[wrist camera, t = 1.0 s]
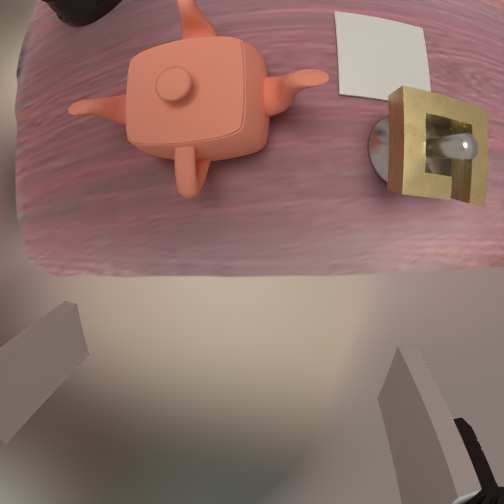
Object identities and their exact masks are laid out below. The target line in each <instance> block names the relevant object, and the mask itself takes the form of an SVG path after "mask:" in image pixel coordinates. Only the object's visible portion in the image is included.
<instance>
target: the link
mask: <svg viewBox="0 0 504 504" xmlns="http://www.w3.org/2000/svg"><path fill="white" fill-rule="evenodd" d="M388 107H389V157H388V181H387V190H389V191H393V192H396V193H399V194H404V195H413V196H421V197H429V198H436V199H443V200H451V198H452V199H456V200H459V201H463V202H466V203H470V204H476V205H482V206H485V202H486V190H487V175H488V122H487V109H486V108H483V107H480V106H477V105H474V104H471V103H468V102H465V101H462V100H459V99H455V98H452V97H449V96H445V95H441V94H438V93H434V92H430V91H426V90H422V89H417V88H413V87H408V86H403V85H402V86H401V87H400V88H398V89H397V90H395V91H394V92H392V93H391V94H390V95H388ZM426 123H431V124H436V125H440V126H444V127H448V128H451V135H454V134H462V133H469V134H471V135H473V136H474V138H475V139H476V141H477V144H478V153H477V156H476V157H475V158H474V159H451V174H450V176H444V175H438V174H432V173H426V172H425V159H426Z"/></svg>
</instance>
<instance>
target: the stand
mask: <svg viewBox="0 0 504 504" xmlns="http://www.w3.org/2000/svg"><path fill="white" fill-rule="evenodd" d="M477 153H478V144H477V141H476V139H475V138H474V136H473V135H471V134H469V133H462V134H454V135H451V129H450V128H448V127H444V126H440V125H436V124H431V123H426V159H425V172H426V173H432V174H438V175H444V176H450V174H451V159H474V158H475V157H476V156H477ZM368 155H369V159H370V162H371V165H372V167H373V168H374V170H375V172H376V173H377V174H378V175H379V177H380V178H381V179H383V180H384V181H385V182H387V181H388V157H389V116H387V117H385V118H383V119H381V120H380V121H379V122H378V123H377V124H376V125H375V126H374V127H373V129H372V131H371V133H370V136H369V140H368Z"/></svg>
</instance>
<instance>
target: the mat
mask: <svg viewBox="0 0 504 504" xmlns="http://www.w3.org/2000/svg"><path fill="white" fill-rule="evenodd" d="M334 18H335V30H336V43H337V60H338V85H339V95H344V96H353V97H361V98H369V99H376V100H382V101H388V95H390V94H391V93H392V92H394V91H395V90H397V89H398V88H400V87H401V86H402V85H403V86H408V87H413V88H417V89H422V90H426V91H430V92H431V89H430V78H429V68H428V60H427V53H426V46H425V40H424V34H423V28H420V27H416V26H412V25H408V24H404V23H400V22H396V21H392V20H387V19H382V18H377V17H371V16H366V15H359V14H353V13H345V12H336V11H335V12H334Z"/></svg>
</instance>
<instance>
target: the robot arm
mask: <svg viewBox="0 0 504 504" xmlns="http://www.w3.org/2000/svg"><path fill="white" fill-rule="evenodd" d="M42 1H44V2H46V3H48V5H49V6H50V7H51V8H52V10H53V11H54V12H56V13H57V16H58V18H59V19H60V20H61V21H63V22H65V23H67V24H69V25H71V26H83V25H86V24H89V23H91V22H93V21H95V20H97V19H99V18H100V17H102V16H103V15H105V14H106V13H107V12H109V11H110V10H111V9H112V8H114V7H115V6H116V5H117V4H118V3H119V2H120V1H121V0H42ZM88 355H89V353H88V349H87V345H86V342H85V338H84V334H83V330H82V326H81V321H80V317H79V312H78V307H77V304H74V303H70V302H66V301H65V302H63V303H62V304H60V305H59V306H57V307H56V308H54V309H53V310H52V311H50V312H49V313H47V314H46V315H44V316H43V317H42V318H40V319H39V320H37V321H36V322H35V323H34V324H32V325H31V326H29V327H28V328H26V329H25V330H24V331H22V332H21V333H20V334H18V335H17V336H16V337H14V338H13V339H12V340H10V341H9V342H8V343H6V344H5V345H4V346H2V347H1V348H0V440H2V441H3V442H4V443H5V444H7V443H8V441H9V440H10V439H11V438H12V437H13V436H14V435H15V433H16V432H17V431H18V430H19V429H20V428H21V427H22V426H23V425H24V423H25V422H26V421H27V420H28V419H29V418H30V417H31V416H32V415H33V413H34V412H35V411H36V410H37V409H38V408H39V407H40V406H41V405H42V404H43V403H44V401H45V400H46V399H47V398H48V397H49V396H50V395H51V394H52V393H53V392H54V391H55V389H57V388H58V387H59V385H60V384H61V383H62V382H63V381H64V380H65V379H66V378H67V377H68V376H69V375H70V374H71V373H72V372H73V371H74V369H76V368H77V367H78V366H79V365H80V364H81V363H82V362H83V361H84V360H85V359H86V357H87V356H88ZM378 402H379V406H380V409H381V413H382V417H383V421H384V424H385V429H386V433H387V437H388V441H389V445H390V449H391V454H392V458H393V463H394V467H395V472H396V477H397V482H398V487H399V492H400V498H401V503H402V504H504V487H498V485H497V483H496V482H495V479H494V477H493V474H492V471H491V469H490V467H489V464H488V462H487V460H486V457H485V455H484V453H483V451H481V446H480V444H479V442H478V441H477V437H476V435H475V433H474V431H473V429H472V427H471V426H470V425H469V424H468V423H467V422H466V421H465V420H464V419H463V418H457V419H453V418H452V416H451V414H450V412H449V410H448V408H447V406H446V404H445V401H444V399H443V397H442V396H441V393H440V391H439V390H438V387H437V386H436V384H435V382H434V380H433V378H432V376H431V374H430V372H429V370H428V369H427V367H426V365H425V363H424V361H423V359H422V358H421V356H420V354H419V352H418V350H417V349H416V347H415V346H397V349H396V353H395V355H394V358H393V361H392V363H391V366H390V369H389V371H388V374H387V377H386V379H385V382H384V384H383V387H382V389H381V391H380V394H379V396H378Z"/></svg>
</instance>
